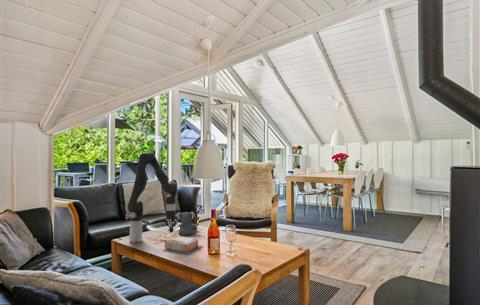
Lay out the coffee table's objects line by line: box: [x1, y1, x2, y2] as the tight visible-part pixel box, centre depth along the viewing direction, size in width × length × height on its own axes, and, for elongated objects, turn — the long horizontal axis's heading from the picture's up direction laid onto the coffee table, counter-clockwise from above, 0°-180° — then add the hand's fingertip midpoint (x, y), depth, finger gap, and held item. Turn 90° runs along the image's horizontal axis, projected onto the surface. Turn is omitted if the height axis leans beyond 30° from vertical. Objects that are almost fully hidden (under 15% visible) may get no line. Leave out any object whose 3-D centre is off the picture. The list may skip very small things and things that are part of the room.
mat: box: [163, 245, 204, 256], centre depth 228 cm, size 22×20×1 cm
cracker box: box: [164, 236, 199, 252], centre depth 229 cm, size 14×6×21 cm
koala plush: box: [176, 211, 198, 236], centre depth 273 cm, size 17×18×20 cm
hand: (171, 232), depth 234 cm, fingers closed
